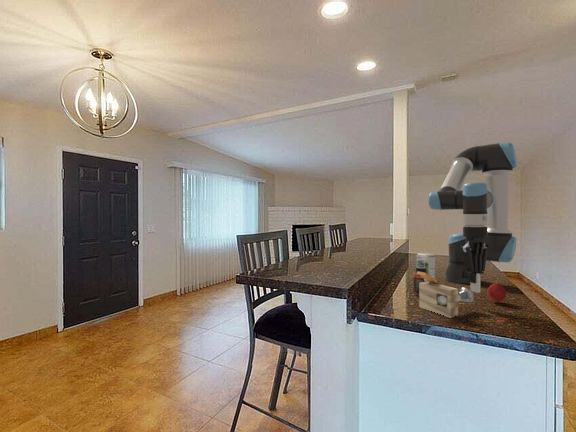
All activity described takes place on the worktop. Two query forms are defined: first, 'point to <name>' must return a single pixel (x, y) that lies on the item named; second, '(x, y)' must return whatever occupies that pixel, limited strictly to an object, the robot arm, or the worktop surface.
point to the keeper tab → (427, 277)
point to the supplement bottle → (418, 279)
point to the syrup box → (427, 263)
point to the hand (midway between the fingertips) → (475, 291)
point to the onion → (496, 292)
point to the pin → (459, 296)
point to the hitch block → (430, 298)
